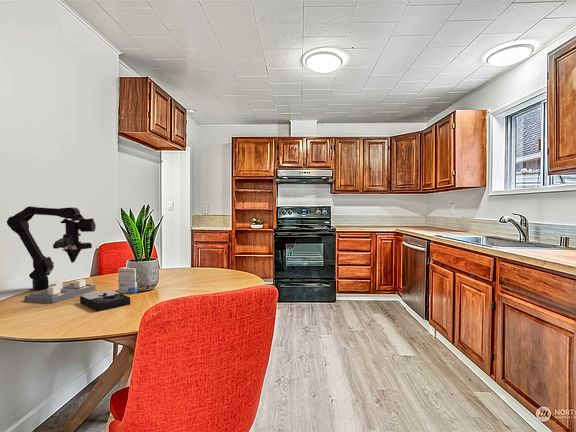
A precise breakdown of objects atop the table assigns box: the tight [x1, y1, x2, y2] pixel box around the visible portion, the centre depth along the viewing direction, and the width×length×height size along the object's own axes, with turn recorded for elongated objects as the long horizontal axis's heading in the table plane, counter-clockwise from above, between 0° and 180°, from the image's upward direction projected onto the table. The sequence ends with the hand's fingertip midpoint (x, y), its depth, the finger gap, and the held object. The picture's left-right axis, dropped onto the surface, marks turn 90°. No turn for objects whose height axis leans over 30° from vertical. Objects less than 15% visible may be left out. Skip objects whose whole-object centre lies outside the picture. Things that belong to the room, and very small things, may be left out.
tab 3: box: [73, 279, 87, 287], centre depth 167 cm, size 3×4×3 cm
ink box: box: [117, 266, 138, 294], centre depth 167 cm, size 9×5×12 cm, turn 84°
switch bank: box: [23, 282, 97, 304], centre depth 161 cm, size 15×24×3 cm, turn 167°
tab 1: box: [50, 281, 64, 289], centre depth 161 cm, size 3×4×3 cm
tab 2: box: [47, 286, 61, 295], centre depth 153 cm, size 3×4×3 cm
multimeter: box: [79, 289, 131, 313], centre depth 146 cm, size 13×19×5 cm
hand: (72, 262), depth 176 cm, fingers closed
